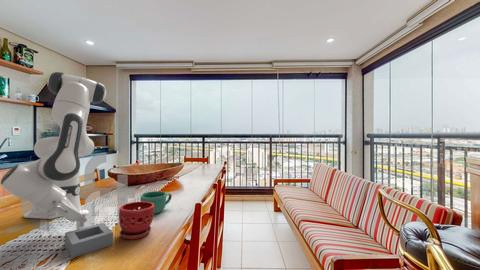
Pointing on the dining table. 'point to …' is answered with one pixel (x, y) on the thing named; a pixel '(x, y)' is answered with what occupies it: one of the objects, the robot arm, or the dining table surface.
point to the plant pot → (135, 219)
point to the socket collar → (88, 239)
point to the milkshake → (80, 224)
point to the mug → (156, 199)
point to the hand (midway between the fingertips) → (82, 217)
